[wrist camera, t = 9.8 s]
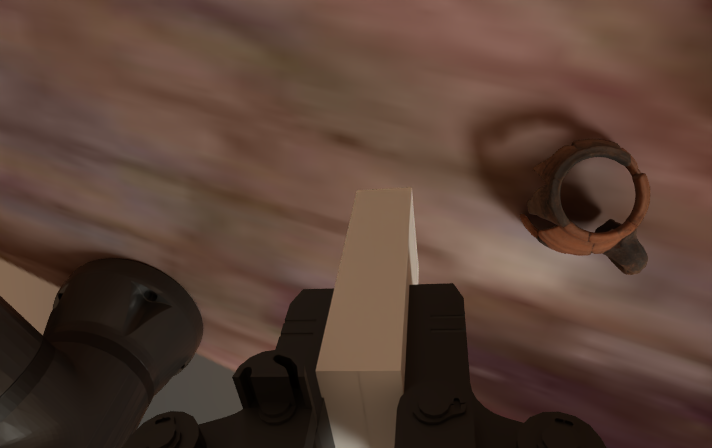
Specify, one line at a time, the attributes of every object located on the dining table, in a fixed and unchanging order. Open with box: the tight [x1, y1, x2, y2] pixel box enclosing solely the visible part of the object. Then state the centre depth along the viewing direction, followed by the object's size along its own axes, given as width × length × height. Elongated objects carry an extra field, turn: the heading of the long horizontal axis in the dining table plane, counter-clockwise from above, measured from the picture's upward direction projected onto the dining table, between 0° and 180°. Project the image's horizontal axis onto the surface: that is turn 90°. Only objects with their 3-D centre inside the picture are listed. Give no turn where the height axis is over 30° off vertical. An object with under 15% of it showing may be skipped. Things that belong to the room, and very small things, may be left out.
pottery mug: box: [520, 139, 650, 275], centre depth 45 cm, size 12×9×8 cm
